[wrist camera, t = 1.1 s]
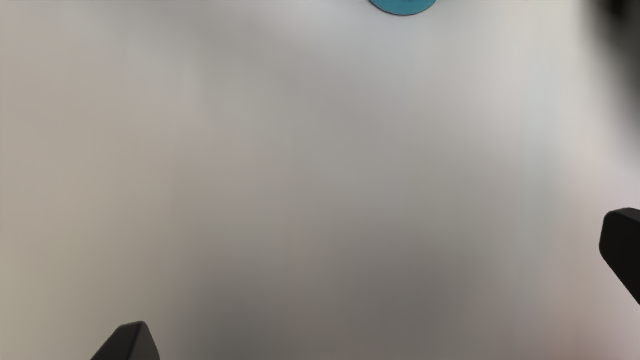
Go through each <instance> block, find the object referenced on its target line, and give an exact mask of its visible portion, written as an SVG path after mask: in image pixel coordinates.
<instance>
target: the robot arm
mask: <svg viewBox="0 0 640 360" xmlns="http://www.w3.org/2000/svg"><path fill="white" fill-rule="evenodd" d="M599 251H600V254H601V256H602V257H603V259H604V260H605V261H606V263H607V264H608V265H609V267H610V268H611V269H612V270H613V272H614V273H615V274H616V276H617V277H618V278H619V279H620V281H621V282H622V283H623V285H624V286H625V287H626V288H627V290H628V291H629V292H630V294H631V295H632V296H633V297H634V299H635V300H636V301H637V303H638V304H639V305H640V210H638V209H634V208H621V209H617V210H613V211H609V212H608V213H607V214H606V215H605V216H604V220H603V225H602V230H601V236H600V241H599ZM90 360H160V357H159V353H158V350H157V348H156V345H155V343H154V341H153V338H152V336H151V333H150V331H149V329H148V326H147V325H146V323H145V322H143V321H137V322H132V323H128V324H124V325H121V326H119V327H118V328H117V329H116V330H115V331H114V332H113V334H112V335H111V336H110V337H109V338H108V339H107V341H106V342H105V343H104V344H103V345H102V346H101V348H100V349H99V350H98V351H97V352H96V353H95V355H94V356H93V357H92V358H91V359H90Z"/></svg>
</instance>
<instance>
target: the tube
mask: <svg viewBox="0 0 640 360" xmlns="http://www.w3.org/2000/svg"><path fill="white" fill-rule="evenodd" d="M371 1H372V2H373V3H374V4H375V5H376V6H378V7H379V8H380V9H382V10H384V11H387V12H390V13H394V14H401V15H409V14H415V13H419V12H421V11H423V10H425V9H427V8H428V7H430V6H431V5H432V4H433V3H434V2H435V1H436V0H371Z"/></svg>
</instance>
